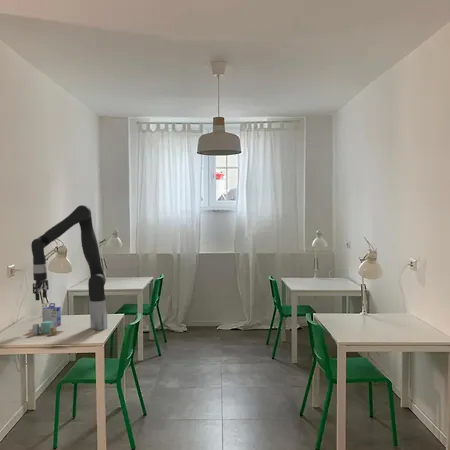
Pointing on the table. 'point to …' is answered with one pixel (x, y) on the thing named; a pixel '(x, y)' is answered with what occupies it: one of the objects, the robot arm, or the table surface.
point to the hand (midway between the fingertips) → (41, 298)
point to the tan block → (53, 331)
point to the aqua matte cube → (46, 326)
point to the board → (42, 334)
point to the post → (35, 329)
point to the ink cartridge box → (52, 314)
